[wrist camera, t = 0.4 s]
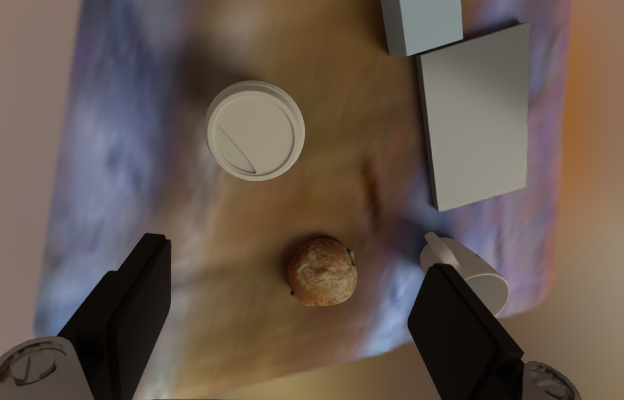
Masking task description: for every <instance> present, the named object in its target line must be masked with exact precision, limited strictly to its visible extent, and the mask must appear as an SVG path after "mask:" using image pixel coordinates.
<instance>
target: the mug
mask: <svg viewBox="0 0 624 400" xmlns="http://www.w3.org/2000/svg"><path fill="white" fill-rule="evenodd" d="M425 239H426V241H427V242H428V244H427V245H426V246H425V247H424V248H423V250H422V252H421V254H420V263H421V266H422V269H423V272H424V275H426V273H427V270H428V268H429V267H430V266H433V264H434V263H443V264H451V265H452V266H453V267H454V268H455V269H456V270H457V272H458V273H459V274H460V275H461V276H462V278H463V279H464V280H465V281H466V283H467V284H468V285H469V286H470V287H471V289H472V290H473V291H474V292H475V294H476V295H477V296H478V297H479V298H480V300H481V301H482V302H483V303H484V305H485V306H486V307H487V308H488V309H489V311H490V312H491V313H492V314H493V316H494V317H495V316H496V315H497V314H499V313H500V312H501V311H502V309H503V308H504V307H505V305H506V304H507V302H508V299H509V296H510V289H509V285H508V283H507V281H506V280H505V279H504V278H503V277H502V276H501V275H500V274H499V273H498V272H497V271H496V270H495V269H493V268H492V267H491V266H490V265H489V264H488V263H487V262H485V261H484V260H483V259H482V258H481V257H479V256H478V255H477V254H475V253H474V252H473V251H471V250H470V249H468V248H467V247H465V246H464V245H462V244H461V243H459V242H458V241H456V240H454V239H452V238H448V237H441V238H439V237H438V236H437V235H436V234H435V233H433V232H429V233H427V234H426V235H425Z"/></svg>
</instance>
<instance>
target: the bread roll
mask: <svg viewBox="0 0 624 400" xmlns="http://www.w3.org/2000/svg"><path fill="white" fill-rule="evenodd" d="M287 281H288V284H289V286H290V287H291V289H292V291H291V295H292V296H293V297H295V298H296V299H297V300H299V301H300V302H301V303H303V304H304V305H305V306H314V305H318V306H324V305H334V304H338V303H341V302H344V301H345V300H347V299H348V298H349V297H350V296H351V295H352V293H353V291H354V289H355V286H356V283H357V271H356V265H355V263H354V254H353V252H352V251H348V250H347V249H346V248H345V247H344V245H342V243H340V242H337V241H336V240H334V239H331V238H318V239H314V240H311V241H308V242H307V243H305V244H304V245H303V246H302V247H301V248H300V249H299V250H298V251H297V252H296V254H295V255H294V256H293V258H292V259H291V261H290V264H289V265H288V268H287Z"/></svg>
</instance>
